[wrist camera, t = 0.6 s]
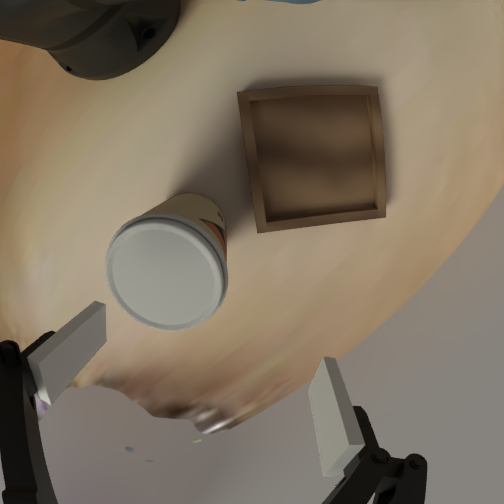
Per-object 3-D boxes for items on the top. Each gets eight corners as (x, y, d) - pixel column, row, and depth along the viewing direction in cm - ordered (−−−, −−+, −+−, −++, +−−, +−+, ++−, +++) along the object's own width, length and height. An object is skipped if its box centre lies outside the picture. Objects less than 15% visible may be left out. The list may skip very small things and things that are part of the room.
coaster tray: (237, 95, 24) (236, 92, 22) (369, 89, 24) (377, 86, 22) (256, 227, 30) (257, 233, 28) (378, 212, 29) (385, 217, 27)
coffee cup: (229, 270, 32) (222, 341, 20) (150, 262, 31) (110, 324, 20) (238, 189, 28) (233, 224, 17) (150, 182, 27) (96, 212, 16)
